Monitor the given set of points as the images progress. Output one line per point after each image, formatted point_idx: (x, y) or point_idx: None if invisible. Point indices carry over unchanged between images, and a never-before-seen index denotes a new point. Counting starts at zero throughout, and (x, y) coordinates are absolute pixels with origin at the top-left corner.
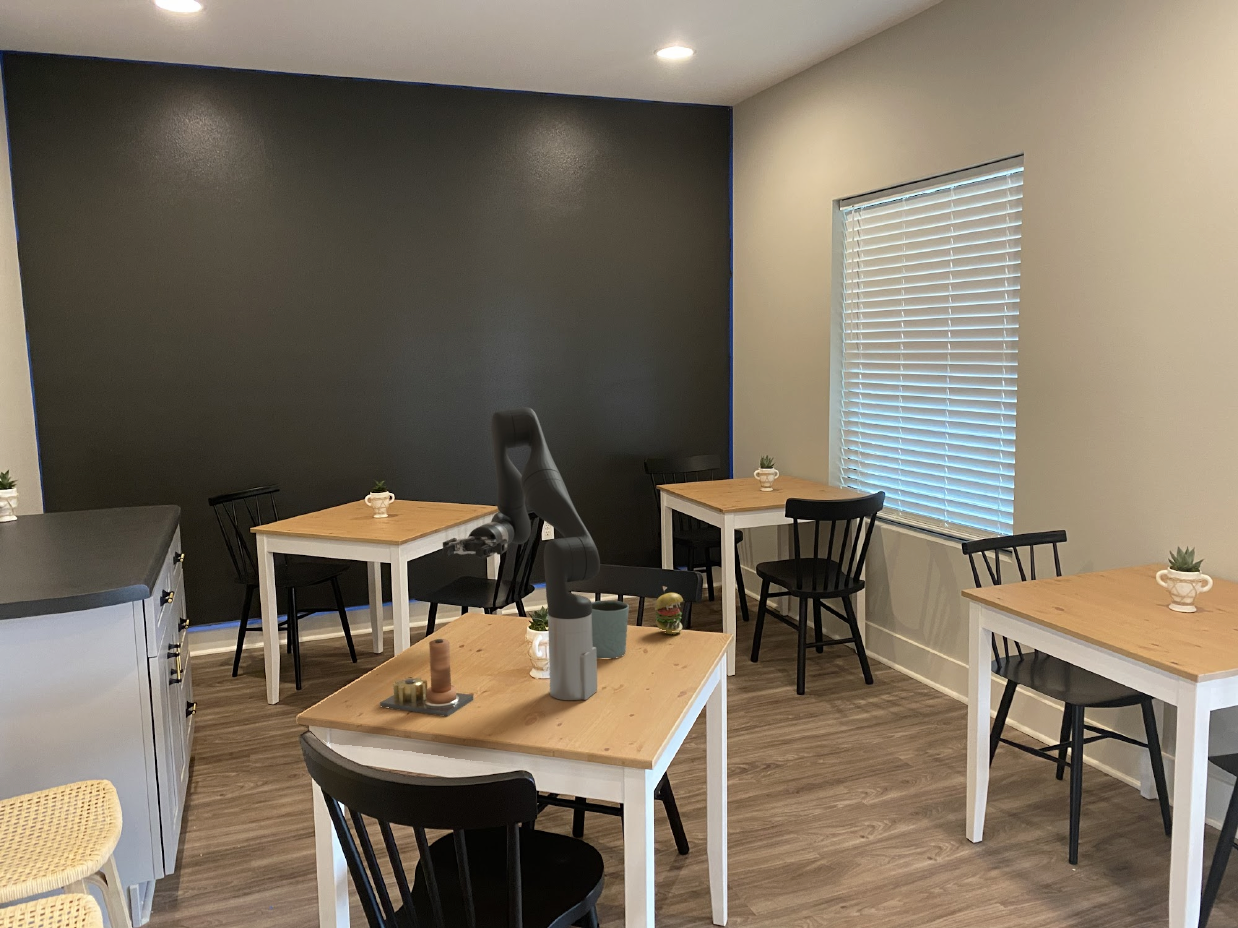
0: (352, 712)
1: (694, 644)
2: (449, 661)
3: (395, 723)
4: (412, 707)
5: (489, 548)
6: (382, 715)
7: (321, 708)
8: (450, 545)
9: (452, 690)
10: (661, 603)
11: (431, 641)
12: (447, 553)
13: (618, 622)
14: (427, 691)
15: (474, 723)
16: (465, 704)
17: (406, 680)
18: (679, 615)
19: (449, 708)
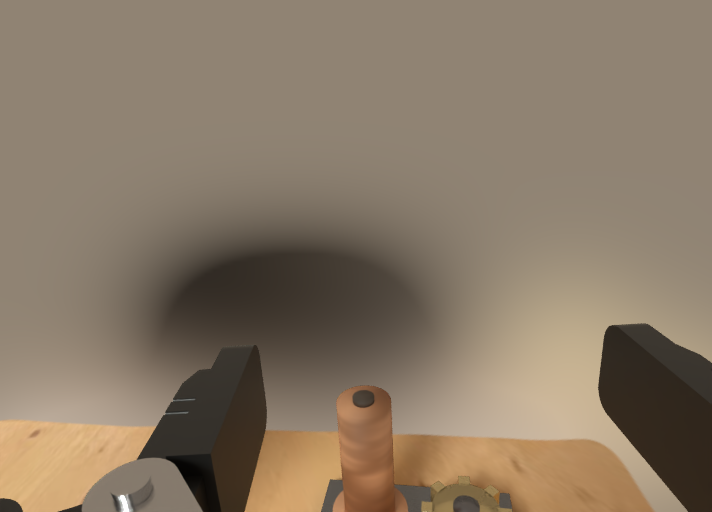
0: (541, 469)
1: None
2: (340, 450)
3: (416, 446)
4: (418, 487)
5: (166, 418)
6: (468, 469)
7: (626, 474)
8: (662, 362)
9: (338, 508)
10: None
11: (387, 401)
12: (601, 375)
13: None
14: (398, 493)
15: (265, 471)
16: None
17: (476, 505)
18: None
19: (331, 493)
